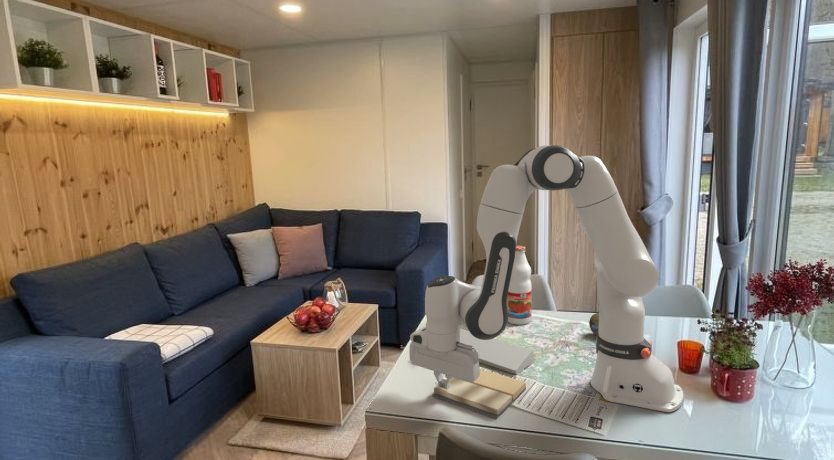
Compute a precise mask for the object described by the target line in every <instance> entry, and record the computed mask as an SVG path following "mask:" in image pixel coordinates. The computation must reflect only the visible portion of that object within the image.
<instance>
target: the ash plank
mask: <svg viewBox="0 0 834 460" xmlns="http://www.w3.org/2000/svg"><path fill="white" fill-rule="evenodd" d="M444 379H445V380H447V378H444ZM450 383H451V386H450V388H449V389H448V390H447V389H444V388H441V387H438V384H437V385H436V386H435V387H433V394H434V393H435V394H438V395H441V396H444V397H447V398H450V399H453V400H456V401H458V402H461V403H464V404H467V405H470V406H473V407H476V408H479V409H481V410H484V411H487V412H490V413H493V414H496V415H499V414H500V413H501V412H502V411H503V410H504V409H505V408H506V407H507V406H508V405H509V404H510V403H511V402H512V396H510V395H507V394H504V393H500V392H497V391H494V390H491V389H488V388H485V387H481V386H478V385H475V384H472V383H469V382H466V381H462V380H459V379H456V378H453V379H452V380H451V382H450Z"/></svg>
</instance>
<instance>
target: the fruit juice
mask: <svg viewBox="0 0 834 460" xmlns="http://www.w3.org/2000/svg"><path fill="white" fill-rule="evenodd" d="M526 250H527V249H526V246H523V245H516V251H515V258H514V264H513V269H512V274H511V279H510V284H509V290H508V295H507V311H508V323H509V324H512V325H518V326H519V325H520V326H521V325H527V324H529V323H531V322H532V298H533V297H532V294H533V293H532V290H533V288H532V281H531V275H532V267H531V266H530V264H529V262H528V259H527V257H526V253H525V252H526Z"/></svg>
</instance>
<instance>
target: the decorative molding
mask: <svg viewBox="0 0 834 460" xmlns="http://www.w3.org/2000/svg"><path fill="white" fill-rule="evenodd" d="M460 343H463V344H466V345H471V346H473V348H475V349H476V350H477V352H478V361H479V363H482V364H484V365H487V366H489V367H490V366H491V367H493V368H496V369H499V370H502V371H505V372H507V373H510V374H514V375H515V376H517V375H519V374H520V373H522V372H523V371H525V369H527V367H530V366H532V365H533V364H535V357H534V355H535V354H534V350H533V349H530V348H527V347H523V346H520V345H516V344H513V343H509V342H506V341H503V340H499V339H496V338H493V339H490V340H481V339H478V338H476V337H474V336H473V335H472V334H471V333H470V332H469V330H468V329H467V330H466V329H463V328H460Z"/></svg>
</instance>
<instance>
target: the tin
mask: <svg viewBox="0 0 834 460" xmlns="http://www.w3.org/2000/svg"><path fill="white" fill-rule="evenodd" d="M588 323H589V324H588V325H589V328H590V331H591V333H593V335H595V336H596V337H597V334H598V333H599V312H597V313H594V314H592V315H591V316H590V318H589V321H588Z"/></svg>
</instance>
